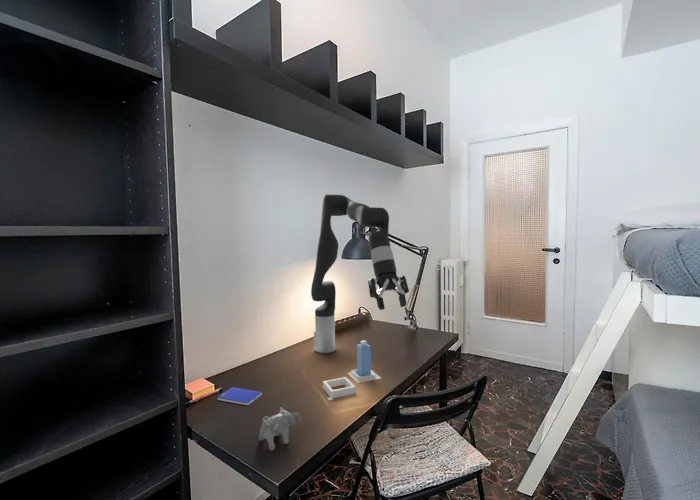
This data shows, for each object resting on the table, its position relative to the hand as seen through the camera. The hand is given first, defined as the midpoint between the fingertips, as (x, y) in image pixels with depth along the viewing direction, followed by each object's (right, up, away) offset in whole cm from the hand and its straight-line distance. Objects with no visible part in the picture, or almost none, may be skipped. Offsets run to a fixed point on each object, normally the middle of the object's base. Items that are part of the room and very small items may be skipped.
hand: (393, 308), depth 117 cm
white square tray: (-9, -30, +20) cm, 37 cm away
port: (-18, -31, +8) cm, 37 cm away
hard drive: (-53, -33, +5) cm, 62 cm away
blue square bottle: (-9, -30, +20) cm, 37 cm away
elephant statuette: (-34, -33, -20) cm, 51 cm away
